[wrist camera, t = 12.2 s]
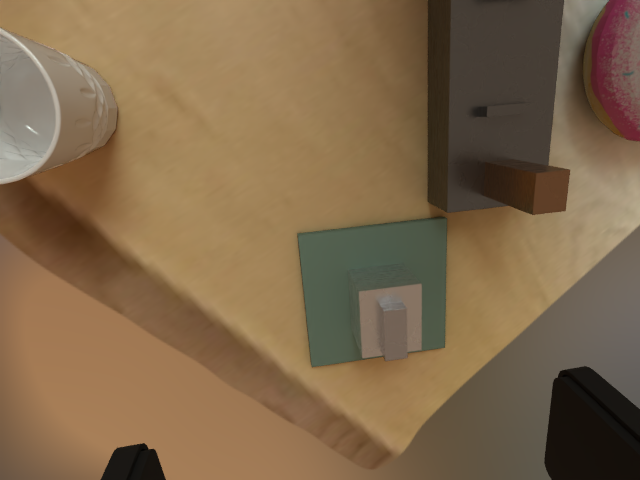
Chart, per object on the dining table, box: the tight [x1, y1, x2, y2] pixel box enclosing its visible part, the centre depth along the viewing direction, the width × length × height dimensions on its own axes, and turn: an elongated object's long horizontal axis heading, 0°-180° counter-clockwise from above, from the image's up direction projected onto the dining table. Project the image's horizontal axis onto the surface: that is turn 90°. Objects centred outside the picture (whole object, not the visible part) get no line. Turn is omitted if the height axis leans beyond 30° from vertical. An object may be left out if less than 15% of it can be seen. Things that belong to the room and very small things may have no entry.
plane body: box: [428, 0, 570, 215], centre depth 27 cm, size 22×8×10 cm, turn 5°
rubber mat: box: [298, 217, 447, 367], centre depth 36 cm, size 13×13×1 cm
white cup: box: [0, 27, 118, 184], centre depth 24 cm, size 8×8×10 cm
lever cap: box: [348, 263, 422, 361], centre depth 33 cm, size 6×5×6 cm
